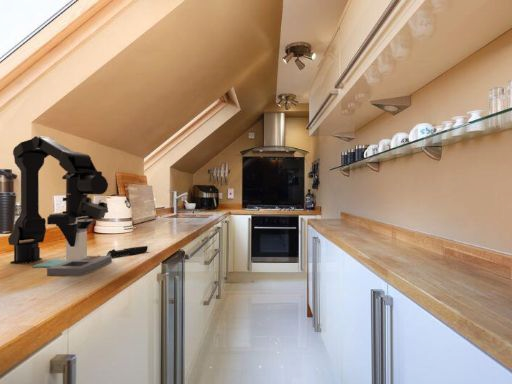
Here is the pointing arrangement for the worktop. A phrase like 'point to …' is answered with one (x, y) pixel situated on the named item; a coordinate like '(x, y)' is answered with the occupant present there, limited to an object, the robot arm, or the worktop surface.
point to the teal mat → (50, 263)
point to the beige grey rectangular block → (78, 246)
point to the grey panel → (79, 266)
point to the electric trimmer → (127, 251)
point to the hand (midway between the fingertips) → (76, 245)
